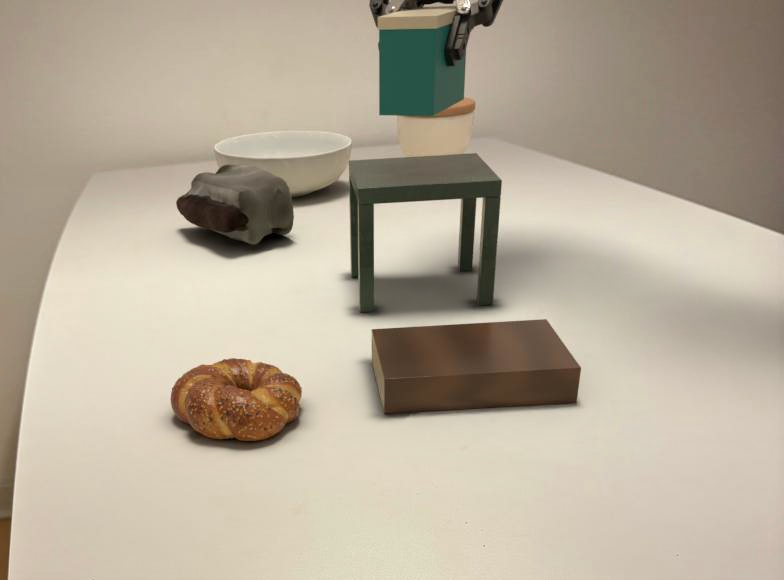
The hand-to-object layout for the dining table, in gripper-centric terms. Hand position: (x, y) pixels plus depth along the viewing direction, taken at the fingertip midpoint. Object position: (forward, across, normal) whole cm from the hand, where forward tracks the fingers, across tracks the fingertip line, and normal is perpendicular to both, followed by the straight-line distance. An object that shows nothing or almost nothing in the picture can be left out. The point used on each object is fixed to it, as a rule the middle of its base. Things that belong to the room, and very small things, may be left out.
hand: (418, 59), depth 90 cm
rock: (+5, -30, +27) cm, 41 cm away
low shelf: (+31, +13, 0) cm, 34 cm away
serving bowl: (-14, -35, +46) cm, 59 cm away
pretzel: (+41, -3, -10) cm, 42 cm away
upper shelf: (+14, 0, +17) cm, 22 cm away
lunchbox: (+2, 0, +4) cm, 5 cm away
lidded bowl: (-31, -19, +62) cm, 72 cm away
